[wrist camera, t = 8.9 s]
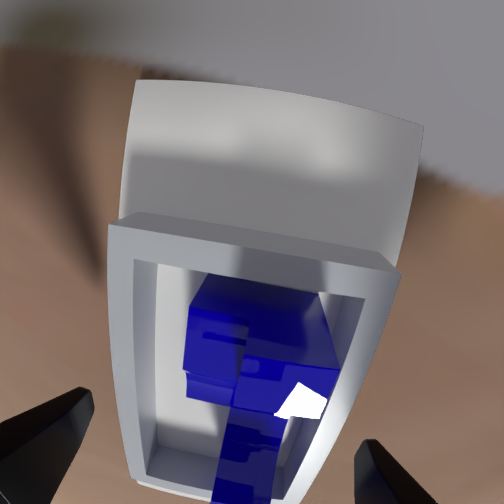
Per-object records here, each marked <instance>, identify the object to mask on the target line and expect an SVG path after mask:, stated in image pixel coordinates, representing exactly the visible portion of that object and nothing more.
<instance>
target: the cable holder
mask: <svg viewBox="0 0 504 504" xmlns="http://www.w3.org/2000/svg"><path fill="white" fill-rule="evenodd" d="M182 370H184V371H185V373H186V380H187V388H186V397H187V398H191V399H196V400H200V401H204V402H209V403H213V404H218V405H223V406H228V407H229V412H228V416H227V421H226V425H225V430H224V434H223V439H222V443H221V448H220V453H219V458H218V464H217V469H216V474H215V479H214V484H213V489H212V494H211V499H210V504H271V496H272V488H273V481H274V474H275V469H276V463H277V459H278V454H279V450H280V446H281V442H282V438H283V435H284V431H285V428H286V425H287V422H288V419H289V417H290V415H291V416H299V417H308V418H317V419H319V418H320V415H321V413H322V411H323V409H324V407H325V404H326V402H327V400H328V398H329V395H330V393H331V391H332V388H333V386H334V384H335V381H336V379H337V377H338V374H339V372H340V366H339V362H338V359H337V355H336V352H335V348H334V344H333V341H332V337H331V334H330V330H329V327H328V324H327V320H326V317H325V313H324V310H323V307H322V303H321V300H320V297H319V294H317V293H312V292H307V291H301V290H296V289H291V288H286V287H281V286H275V285H270V284H265V283H260V282H255V281H250V280H245V279H240V278H235V277H229V276H223V275H218V274H212V273H208V274H207V276H206V278H205V279H204V281H203V283H202V285H201V286H200V288H199V290H198V291H197V293H196V295H195V297H194V298H193V300H192V302H191V304H190V305H189V311H188V319H187V328H186V338H185V347H184V358H183V368H182Z"/></svg>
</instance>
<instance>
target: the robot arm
mask: <svg viewBox="0 0 504 504" xmlns="http://www.w3.org/2000/svg"><path fill="white" fill-rule="evenodd" d="M93 413H94V402H93V397H92V392H91V391H90V390H89V389H86V388H83V387H77V388H75V389H73V390H71V391H69V392H67V393H65V394H62V395H60V396H58V397H56V398H54V399H52V400H50V401H47V402H45V403H43V404H41V405H39V406H37V407H34V408H32V409H30V410H28V411H25V412H23V413H21V414H19V415H16V416H14V417H12V418H10V419H7V420H5V421H3V422H1V423H0V504H50V503H51V501H52V499H53V497H54V495H55V493H56V491H57V489H58V487H59V485H60V483H61V481H62V480H63V478H64V476H65V474H66V472H67V470H68V468H69V466H70V464H71V463H72V461H73V459H74V457H75V455H76V453H77V452H78V450H79V448H80V445H81V443H82V441H83V438H84V436H85V433H86V431H87V428H88V426H89V423H90V421H91V418H92V416H93ZM354 497H355V504H438V503H436V501H435V500H434V499H433V498H432V497H431V496H430V495H429V494H428V493H427V492H426V491H425V490H424V489H423V488H422V487H421V486H420V485H419V484H418V483H417V481H416V480H415V479H414V478H413V477H412V476H411V475H410V474H409V473H408V472H407V471H406V470H405V469H404V468H403V467H402V466H401V465H400V464H399V463H398V462H397V461H396V460H395V459H394V457H393V456H392V455H391V454H390V453H389V452H388V451H387V450H386V449H385V448H384V447H383V446H382V445H381V444H380V443H379V442H378V441H377V440H376V439H365V440H364V441H363V442H362V444H361V445H360V447H359V449H358V450H357V452H356V454H355V457H354Z"/></svg>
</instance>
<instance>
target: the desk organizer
mask: <svg viewBox="0 0 504 504" xmlns="http://www.w3.org/2000/svg"><path fill="white" fill-rule="evenodd" d="M423 130H424V126H422V125H419V124H416V123H413V122H410V121H406V120H403V119H400V118H397V117H394V116H390V115H386V114H383V113H380V112H376V111H373V110H369V109H365V108H361V107H357V106H353V105H349V104H345V103H341V102H336V101H332V100H327V99H323V98H318V97H313V96H308V95H302V94H297V93H291V92H285V91H279V90H273V89H266V88H259V87H251V86H243V85H234V84H224V83H212V82H199V81H180V80H136V84H135V89H134V94H133V100H132V105H131V111H130V118H129V124H128V131H127V138H126V146H125V154H124V162H123V171H122V182H121V193H120V206H119V220H117V221H115V222H112V223H110V224H108V256H107V280H108V314H109V332H110V346H111V357H112V368H113V377H114V385H115V393H116V401H117V408H118V414H119V420H120V426H121V432H122V438H123V443H124V448H125V453H126V458H127V463H128V467H129V472H130V476H131V478H132V479H135V480H137V482H138V484H141V485H144V486H147V487H151V488H154V489H158V490H161V491H165V492H169V493H173V494H177V495H181V496H185V497H190V498H194V499H199V500H204V501H209V502H210V499H211V494H212V489H213V484H214V479H215V474H216V469H217V464H218V458H219V453H220V448H221V443H222V439H223V434H224V430H225V425H226V421H227V416H228V412H229V407H228V406H223V405H218V404H213V403H209V402H204V401H200V400H196V399H191V398H187V397H186V388H187V380H186V373H185V371H184V370H182V368H183V358H184V347H185V338H186V328H187V319H188V311H189V305H190V304H191V302H192V300H193V298H194V297H195V295H196V293H197V291H198V290H199V288H200V286H201V285H202V283H203V281H204V279H205V278H206V276H207V274H208V273H212V274H218V275H223V276H229V277H235V278H240V279H245V280H250V281H255V282H260V283H265V284H270V285H275V286H281V287H286V288H291V289H296V290H301V291H307V292H312V293H317V294H319V297H320V300H321V303H322V307H323V310H324V313H325V317H326V320H327V324H328V327H329V330H330V334H331V337H332V341H333V344H334V348H335V352H336V355H337V359H338V362H339V366H340V372H339V374H338V377H337V379H336V381H335V384H334V386H333V388H332V391H331V393H330V395H329V398H328V400H327V402H326V404H325V407H324V409H323V411H322V413H321V415H320V418H319V419H317V418H308V417H299V416H291V415H290V417H289V419H288V422H287V425H286V428H285V431H284V435H283V438H282V442H281V446H280V450H279V454H278V459H277V463H276V469H275V474H274V481H273V488H272V496H271V504H299V503H300V502H301V500H302V499H303V497H304V495H305V494H306V492H307V490H308V489H309V487H310V485H311V484H312V482H313V480H314V479H315V477H316V475H317V474H318V472H319V470H320V468H321V466H322V465H323V463H324V461H325V459H326V457H327V456H328V454H329V452H330V450H331V448H332V446H333V444H334V442H335V440H336V439H337V437H338V435H339V433H340V431H341V429H342V427H343V425H344V423H345V420H346V418H347V416H348V414H349V412H350V410H351V408H352V406H353V403H354V401H355V399H356V397H357V395H358V392H359V390H360V388H361V386H362V383H363V381H364V379H365V376H366V374H367V371H368V369H369V366H370V364H371V362H372V359H373V357H374V354H375V351H376V349H377V346H378V344H379V341H380V338H381V335H382V333H383V330H384V327H385V324H386V322H387V319H388V316H389V313H390V310H391V307H392V304H393V301H394V298H395V294H396V291H397V288H398V285H399V282H400V278H401V275H402V274H401V273H400V272H399V271H398V270H397V269H396V268H395V267H396V263H397V260H398V256H399V252H400V248H401V244H402V241H403V236H404V232H405V228H406V224H407V220H408V215H409V211H410V206H411V201H412V196H413V191H414V186H415V181H416V175H417V170H418V164H419V158H420V151H421V144H422V138H423Z"/></svg>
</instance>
